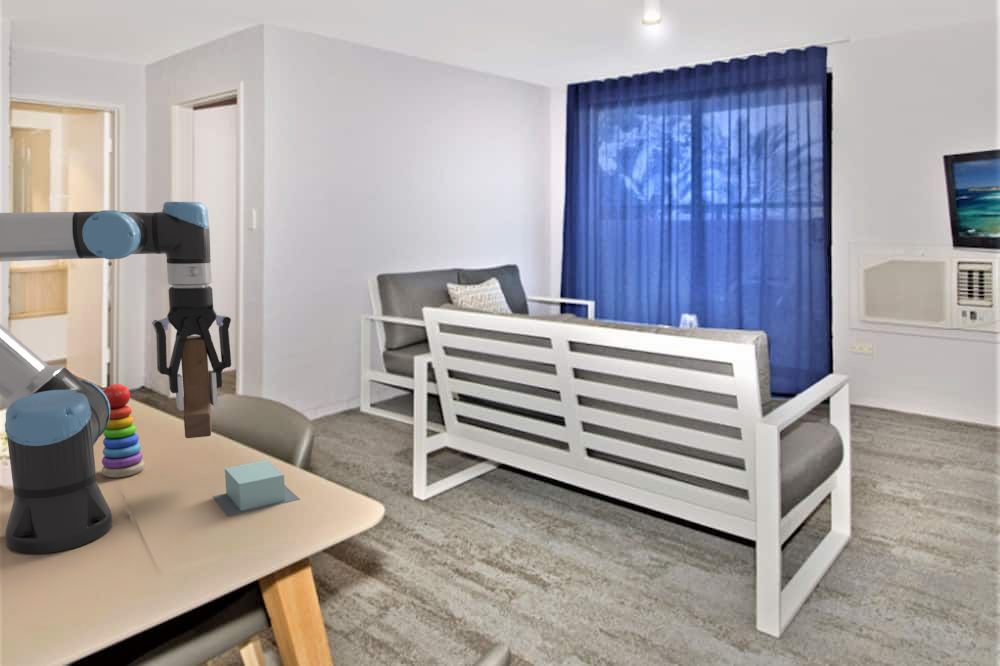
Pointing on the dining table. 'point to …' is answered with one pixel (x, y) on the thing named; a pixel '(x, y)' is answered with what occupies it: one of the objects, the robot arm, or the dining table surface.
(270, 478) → the plinth
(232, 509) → the mat
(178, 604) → the dining table surface
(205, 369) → the wooden block
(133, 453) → the stacking toy
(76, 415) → the robot arm
